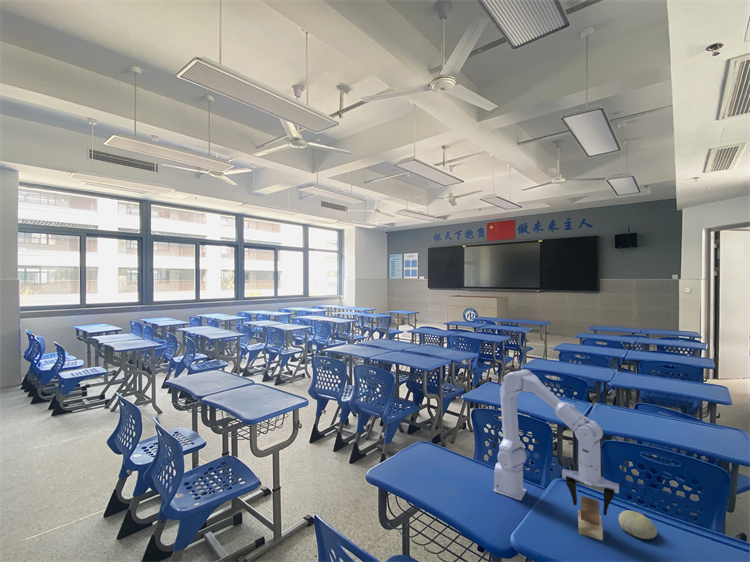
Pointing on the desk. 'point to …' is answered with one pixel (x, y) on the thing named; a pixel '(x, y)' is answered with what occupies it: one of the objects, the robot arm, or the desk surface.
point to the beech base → (590, 528)
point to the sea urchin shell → (637, 525)
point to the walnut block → (590, 510)
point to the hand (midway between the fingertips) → (589, 508)
